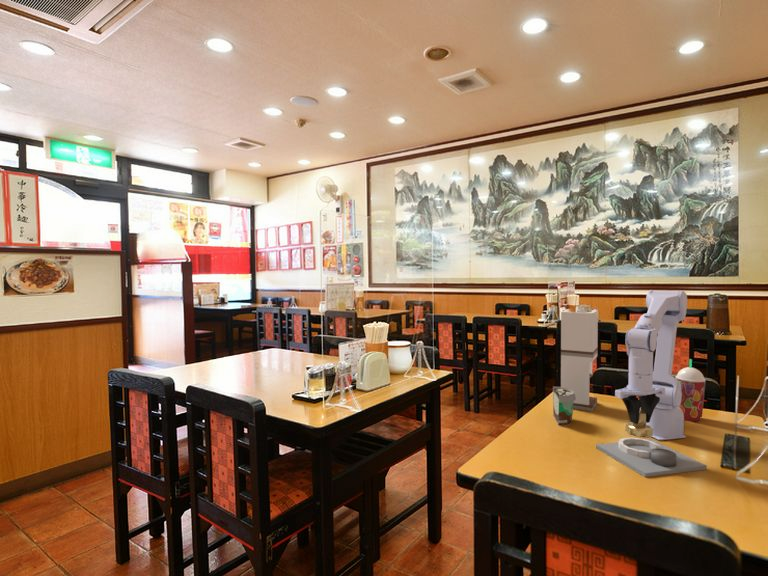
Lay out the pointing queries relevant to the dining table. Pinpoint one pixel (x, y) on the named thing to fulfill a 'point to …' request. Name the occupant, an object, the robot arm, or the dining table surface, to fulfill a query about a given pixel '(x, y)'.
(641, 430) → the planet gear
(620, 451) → the carrier plate
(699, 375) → the smoothie
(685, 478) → the dining table surface
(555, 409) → the food container
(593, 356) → the white stepped column
